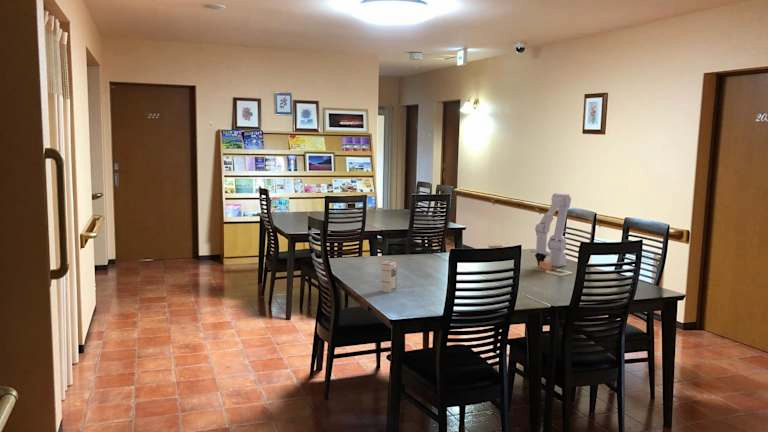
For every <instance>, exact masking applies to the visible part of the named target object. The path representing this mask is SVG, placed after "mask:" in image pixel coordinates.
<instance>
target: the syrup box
mask: <svg viewBox="0 0 768 432" xmlns="http://www.w3.org/2000/svg"><path fill="white" fill-rule="evenodd" d="M397 265H398V263H397V261H394V260H386V261H382V262H380V292H383V291H384V293H393V292H395V291H397V275H398V274H397V273H398V272H397V271H398V270H397V268H398V267H397Z"/></svg>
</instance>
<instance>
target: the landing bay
mask: <svg viewBox="0 0 768 432" xmlns="http://www.w3.org/2000/svg"><path fill="white" fill-rule="evenodd" d="M558 272H560V273H558ZM545 274H551V275H553V276H558V277H564V276H569V275H570V274H571V275H574V273H573V272H572V271H568V270H564V269H558V268H557V271H556V272H555V271H546V272H545Z"/></svg>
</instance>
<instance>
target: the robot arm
mask: <svg viewBox="0 0 768 432" xmlns="http://www.w3.org/2000/svg"><path fill="white" fill-rule="evenodd" d="M571 197H572V196H571V195H570V194H568V193H560V192H559V193H558V192H554V193H553V194H552V196H551V203H550V206H549V209H548V211H547V212H546V213H544V215H543V216H542V218H541V219H540V222H539V223H537V224H536V225H535V228H534V231H535V235H536V245H535V248H536V249H534V248H530V253H534V256H535V259H536V261H537V267H539V262H540V261H545V259H546V258H547V257H549V262H552V267H554V268H557V267H564V266H567V264H566V259H567V257H566V256H567V254H566V251H565V250H566V248H567V239H566V238H565V237H564V231H565V225H566V221H567V215H568V210H569V209H570V207H571V202H572V198H571ZM557 210H558V213H557V218H556V221H555V222H556V223H555V227H554V233H553V235H551V236H550V237H549V239H548V233H549V232H550V227H551V223H552V222H553V221H554V220H553V219H554V214H555V213H556V212H557ZM547 239H548V241H547ZM547 248H548V249H549V250H548V251H547Z"/></svg>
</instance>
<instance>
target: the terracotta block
mask: <svg viewBox="0 0 768 432" xmlns="http://www.w3.org/2000/svg"><path fill="white" fill-rule="evenodd" d="M538 267H541V268H545V269H549V271H550V272H552V270H551V269H552V267H553V266H552V262H550V260H544V261H540V262H539V266H538Z"/></svg>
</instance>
